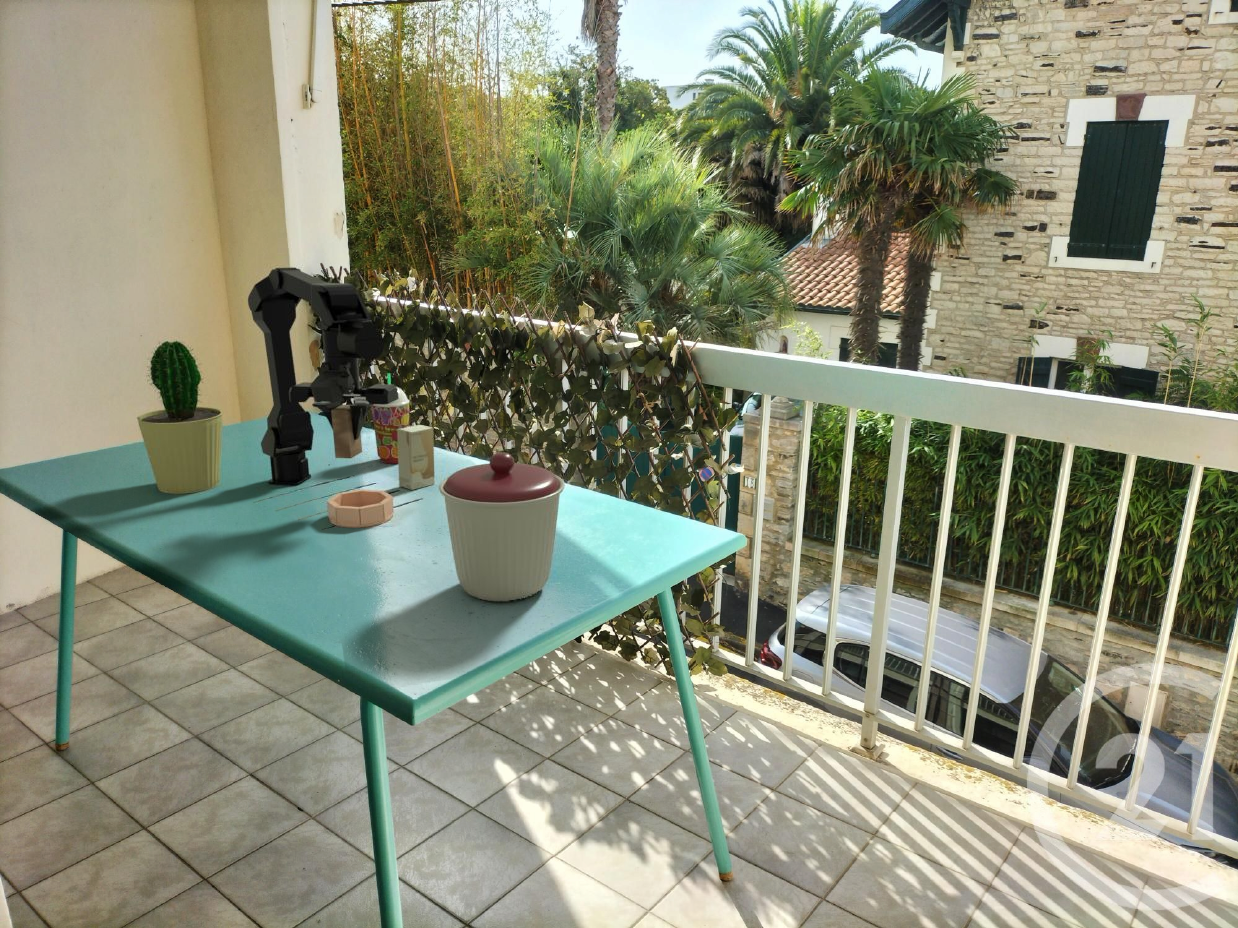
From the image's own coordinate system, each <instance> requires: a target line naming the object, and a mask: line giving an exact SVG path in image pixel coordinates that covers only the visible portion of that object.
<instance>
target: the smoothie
mask: <svg viewBox="0 0 1238 928" xmlns="http://www.w3.org/2000/svg"><path fill="white" fill-rule="evenodd" d="M386 375H387V384H392V383H391V382H392V381H391V380H392V379H391V373H388V372H387V374H386ZM396 388H397V389H398V398H399V399H397V400H395V401H393V402H391V403H389V404H374V405H372V406H371V412H372V420H373V427H374V435H375V443H376V450H377V452H376V453H377V456H378V457H379V459H380V462H382V463H383V462H384V464H390V463H391V464H392V463H394V464H398V436H397V429H401V428H406V427H410V400H409V398H408V395H406V393H405V392H404V391H403V390H402V388H400V387H398V386H396Z"/></svg>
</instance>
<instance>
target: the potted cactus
mask: <svg viewBox="0 0 1238 928" xmlns="http://www.w3.org/2000/svg"><path fill="white" fill-rule="evenodd" d="M157 342H158V344H159V346H155V347H153V350H152V351H150V352H151V354H152V357H151V356H150V358H147V360H148V361H150V364H149V366H146V367H147V368H148V372H150V373H149V374H146V377H147V378H148V377H149V379H147V380H146V382H149V381H150V382H151V383H150V382H149V383H148V385H149V384H150V385H153V386H154V388H156V389H155V391H157V390H158V392H157V394H158V395H159V396H158V397H159V398H157V400H158V399H160V398H161V400H160V401H158V403H160V402H162V403H161V406H162V405H163V408H161V409H155V410H151V411H147V412H144V413H142V414H139V415H138V416H137V417H136V419H137V423H138V428H139V431H140V434H141V437H142V439H143V443H144V446H145V450H146V453H147V456H148V460H149V463H150V466H151V470H152V472H153V473H152V474H153V476H154V479H155V482H156V486H157V489H158V491H160V492H162V493H165V494H172V495H173V494H174V495H175V494H176V495H177V494H178V495H181V494H191V493H192V494H193V493H198V492H203V491H207V490H211V489H214V488H216V487H217V486H219V484H220V480H221V478H220V477H221V459H222V458H221V457H222V441H223V439H222V438H223V416H224V415H223V414H224V410H223V409H220V408H216V407H209V406H198V403H200V400H199V396H202V394H201V393H200V394H199V391H201V389H200V387H199V385H200V383H202V384H204V381H203V378H202V376H201V372H200V370H199V368H200V365H201V363H199V364H197V363H196V362H197V359H196V356H193V354H192V351H193V349H191V347H187V346H190V345H189V344H187V346H186V345H185V343H183V342H181V341H178V340H173V341H168V340H167V341H164V340H163V341H162V342H160V341H157ZM153 351H154V352H153ZM201 403H203V404H204V402H202V401H201Z"/></svg>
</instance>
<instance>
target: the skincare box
mask: <svg viewBox="0 0 1238 928" xmlns="http://www.w3.org/2000/svg"><path fill="white" fill-rule="evenodd" d="M397 436H398V463H397V464H398V486H399V487H401V488H405V489H408V490H411V491H412V490H416V489H421V488H425V487H428V486H433V485H435V448H434V446H435V444H434V427H431V426H427V425H422V424H416V425H412V426H410V425H409V427H406V428H401V429H397Z"/></svg>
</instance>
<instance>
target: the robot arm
mask: <svg viewBox="0 0 1238 928" xmlns="http://www.w3.org/2000/svg"><path fill="white" fill-rule="evenodd" d="M302 300H303V301H305V302H308V303H310V309H311V311H312V312H314V313H315V314H316V315H317V316H319V318H320V321H318V323H317V325H316V328H318V329H320V330H321V331H322V333H321V334H322V345H323V353H324V361H323V362H321V367H320V368H321V372H320V374H318V375H317V376H316V377H315V378H314V379H313V381H312V382H309V381H308V382H305V381H304V382H301V383H298V384H297V379H296V378H297V377H296V371H295V363H294V356H293V346H292V341H291V340H292V339H291V330H292V328H293V325H294V323H295V321H296V318H297V311H296V310H297V308H298V305H299V304H300V302H301V301H302ZM247 305H248V308H249V310H250V312H251V316H252V320H253V322H254V323H255V324H256V326H257V327H258V328H259V329H260V331H262V333H263V337H264V344H265V345H264V346H265V350H266V360H267V365H268V374H269V381H270V388H271V396H272V402H273V405H272V408H271V409H270V411H269V414H268V416H267V418H266V422H267V429H266V431H265V434H264V435H263V438H262V440H261V441H260V446H261V451H262V454H265V455H266V456H268V457H269V461H270V471H271V472H270V474H271V478H270V479H269V480H267V483H268V484H275V485H289V486H290V485H292V486H293V485H294V486H297V485H299V484H301V483H303V482H305V481H306V480H309V478H311V477H312V474H311V473H310V468H309V459H308V457H307V456H306V451H308V452H309V451H310V452H311V451H312V450H313V442H314V434H315V431H314V427H313V424H312V417H311V416H312V415H311V414H310V412H309V411H308V410H307V411H306V410H305V409H304V408H303V406H302V405H301V404H300V403H307V401H308V400H309V399H310V398H313V403H312V404H311V405H312V407H313V408H318V409H319V410H320V411H321V412H322V413H323V414H324V416H325V417H326V419H327V421H328V423H329V425H330V428H331V429H332V431H333V424H332V412H331V410H332V409H335V408H337V407H339V406H341V405H342V404H341V402H342V401H341V400H342V399H353V400H354V403H352V404H349V405H350V408H351V411H352V413H353V435H354V440H357V439H358V438H359V436H360V433H361V434H362V429H363V426H364V423H365V421H366V419H367V418H366V417H367V416H368V414H369V411H370V409H371V408H372V405H374V404H389V403H391V402H393V401H395V400H397V399H399V398H398V389H397V388H396V387H397V386H396V385H395V384H394V383H393V384H392V383H391V384H388V383H387V384H385V383H383V384H382V383H376V384H373V385H372V386H369V387H367V388H362V387H363V384H364V383H363V380H360V371H359V366H360V365H362V361H361V360H365V361H370V362H371V361H375V360H376V359H378V358H379V357H381V355H382V353H383V352H384V349H385V340H384V337H383V334H381V332H380V331H379V330H378V329H377V328H374V327H373V321H372V320H371V317H370V312H369V310H368V309H367V307H366V305H365V304H364V302H363V300H362V297H361V295H360V292H359V291H357V288H356V287H355V286H354V285H353V284H352V283H343V282H342V283H341V282H339V283H338V282H337V283H336V282H327V281H325V280H322V279H319V278H317V277H315V276H312V274H311V275H310V274H308V273H306V272H303V271H302V270H301V269H300V268H297V267H293V266H291V267H275V268H274V269H272V270H270V272H269V274H268V275H267V276H266V277H264V278H263V279H261V280H260V281H258V282H256V283H255V284H254V285H253V287H252V289H251V290H250V293H249V294H248V298H247Z"/></svg>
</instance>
